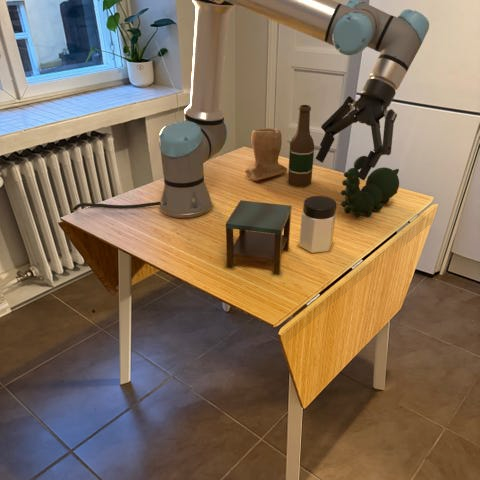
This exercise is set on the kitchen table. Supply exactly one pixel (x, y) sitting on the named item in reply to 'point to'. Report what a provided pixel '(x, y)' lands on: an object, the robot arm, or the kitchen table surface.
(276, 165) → the tan piece
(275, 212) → the stand
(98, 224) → the kitchen table surface
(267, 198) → the kitchen table surface
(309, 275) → the kitchen table surface
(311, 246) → the jar
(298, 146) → the beer bottle
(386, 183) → the toy figurine
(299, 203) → the kitchen table surface
